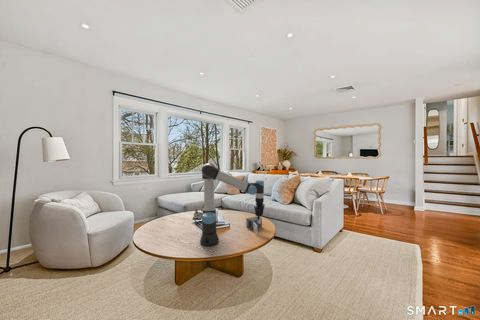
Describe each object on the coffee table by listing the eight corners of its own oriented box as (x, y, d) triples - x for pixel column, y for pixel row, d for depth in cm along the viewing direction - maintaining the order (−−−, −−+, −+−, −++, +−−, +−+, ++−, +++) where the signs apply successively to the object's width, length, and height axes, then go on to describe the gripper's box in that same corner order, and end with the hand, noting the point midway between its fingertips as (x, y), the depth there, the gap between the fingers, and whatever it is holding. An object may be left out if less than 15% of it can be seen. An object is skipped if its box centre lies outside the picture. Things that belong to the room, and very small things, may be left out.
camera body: (250, 230, 197) (250, 220, 197) (244, 228, 204) (244, 218, 204) (261, 227, 205) (261, 217, 205) (255, 225, 213) (255, 215, 212)
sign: (212, 224, 227) (217, 206, 227) (212, 225, 224) (217, 207, 223) (192, 218, 225) (198, 201, 225) (192, 219, 222) (197, 201, 222)
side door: (251, 230, 198) (251, 221, 198) (253, 230, 199) (253, 221, 198) (255, 235, 186) (255, 225, 186) (257, 235, 186) (257, 225, 186)
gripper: (258, 199, 183) (257, 225, 184) (267, 197, 193) (266, 222, 193) (251, 197, 189) (251, 223, 189) (260, 195, 198) (260, 220, 199)
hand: (259, 223), depth 191 cm, fingers closed
